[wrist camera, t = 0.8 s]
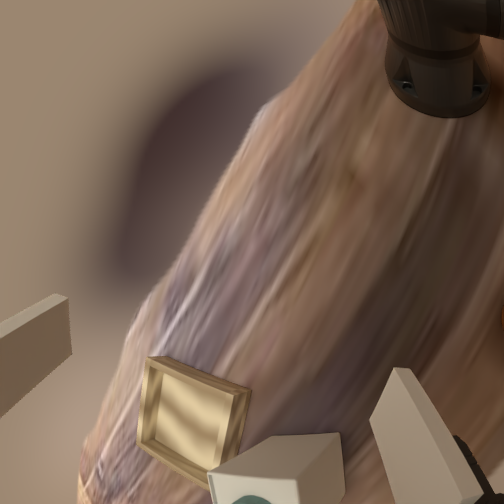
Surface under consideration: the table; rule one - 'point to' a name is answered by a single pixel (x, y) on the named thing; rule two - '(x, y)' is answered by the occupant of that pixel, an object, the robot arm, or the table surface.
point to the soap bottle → (283, 472)
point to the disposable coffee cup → (502, 317)
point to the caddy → (190, 418)
